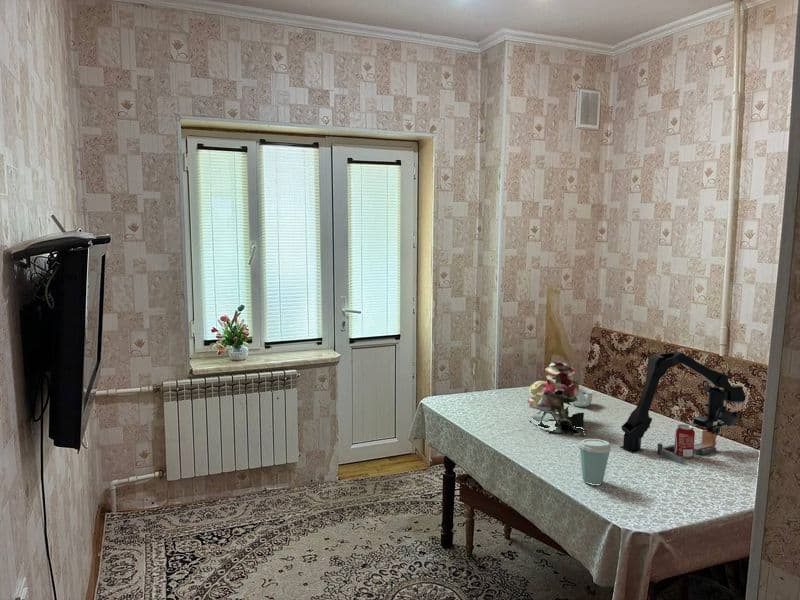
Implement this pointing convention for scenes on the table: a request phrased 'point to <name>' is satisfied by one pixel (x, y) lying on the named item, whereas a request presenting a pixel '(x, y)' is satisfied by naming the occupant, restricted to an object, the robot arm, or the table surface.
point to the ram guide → (706, 450)
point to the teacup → (583, 398)
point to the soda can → (684, 441)
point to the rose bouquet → (557, 397)
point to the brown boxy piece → (706, 441)
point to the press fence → (669, 453)
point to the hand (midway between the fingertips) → (713, 439)
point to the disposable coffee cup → (594, 459)
